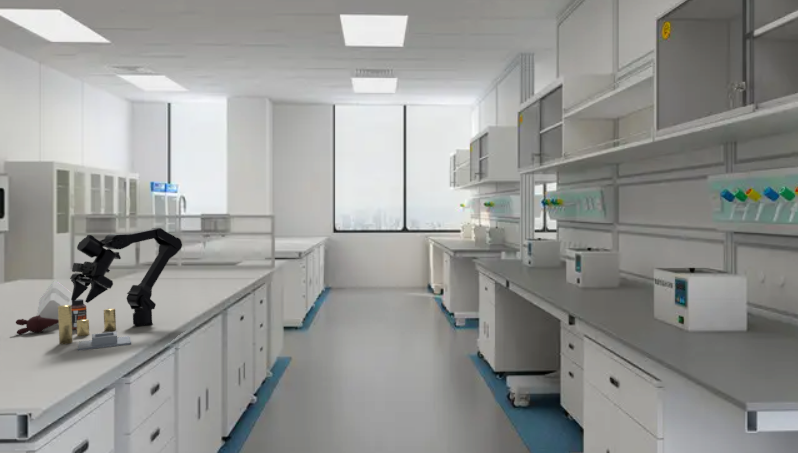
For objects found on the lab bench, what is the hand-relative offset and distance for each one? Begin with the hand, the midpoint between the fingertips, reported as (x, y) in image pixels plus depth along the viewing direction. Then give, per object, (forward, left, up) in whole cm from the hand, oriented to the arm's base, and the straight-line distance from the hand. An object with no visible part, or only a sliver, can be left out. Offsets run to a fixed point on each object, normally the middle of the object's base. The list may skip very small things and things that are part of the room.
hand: (79, 301), depth 211 cm
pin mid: (-10, -8, -13) cm, 18 cm away
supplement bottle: (+1, -19, -13) cm, 23 cm away
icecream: (+14, -19, -13) cm, 27 cm away
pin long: (+4, +8, -13) cm, 16 cm away
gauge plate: (-8, +17, -13) cm, 23 cm away
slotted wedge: (+9, -36, -13) cm, 39 cm away
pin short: (-1, -4, -13) cm, 14 cm away
